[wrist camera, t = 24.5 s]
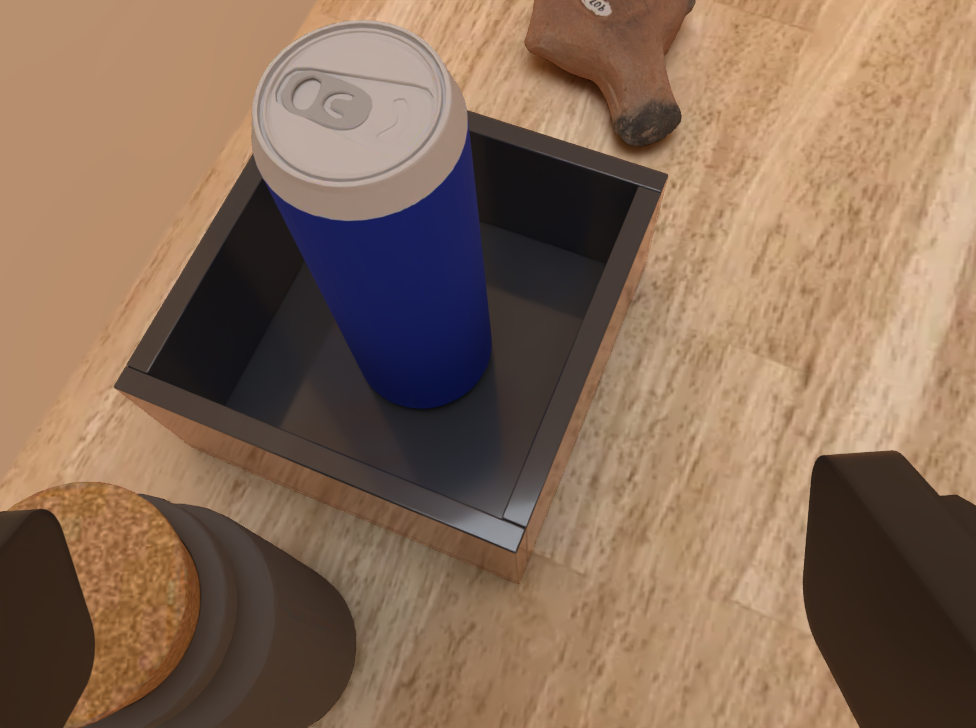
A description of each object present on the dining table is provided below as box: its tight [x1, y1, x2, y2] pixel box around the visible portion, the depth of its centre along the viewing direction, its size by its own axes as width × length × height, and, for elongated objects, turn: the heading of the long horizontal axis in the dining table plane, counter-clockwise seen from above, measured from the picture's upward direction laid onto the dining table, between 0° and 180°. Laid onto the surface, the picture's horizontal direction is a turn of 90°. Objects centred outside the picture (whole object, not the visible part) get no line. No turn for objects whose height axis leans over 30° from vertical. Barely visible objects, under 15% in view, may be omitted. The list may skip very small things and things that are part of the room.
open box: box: [114, 110, 668, 584], centre depth 31 cm, size 14×14×7 cm
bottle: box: [7, 482, 356, 728], centre depth 24 cm, size 6×6×15 cm
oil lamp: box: [525, 0, 695, 146], centre depth 38 cm, size 9×4×8 cm
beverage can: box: [251, 20, 492, 409], centre depth 27 cm, size 5×5×15 cm
